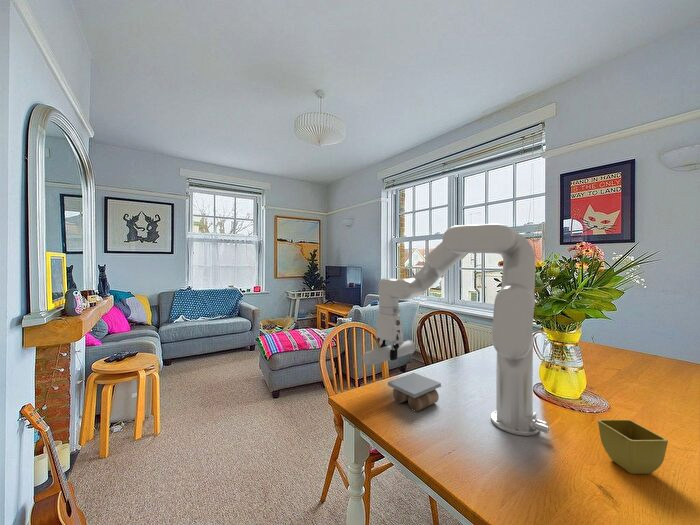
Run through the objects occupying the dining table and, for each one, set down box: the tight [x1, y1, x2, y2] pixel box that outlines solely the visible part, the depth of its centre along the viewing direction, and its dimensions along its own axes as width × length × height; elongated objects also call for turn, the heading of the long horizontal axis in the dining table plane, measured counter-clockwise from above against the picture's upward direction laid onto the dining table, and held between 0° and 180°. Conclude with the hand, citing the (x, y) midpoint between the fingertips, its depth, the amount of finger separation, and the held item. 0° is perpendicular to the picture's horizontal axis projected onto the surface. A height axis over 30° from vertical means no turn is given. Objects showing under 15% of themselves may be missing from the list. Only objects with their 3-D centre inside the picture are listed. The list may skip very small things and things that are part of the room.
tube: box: [361, 339, 416, 367], centre depth 111 cm, size 5×5×25 cm
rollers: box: [392, 388, 440, 412], centre depth 100 cm, size 12×10×5 cm
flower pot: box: [597, 419, 669, 475], centre depth 68 cm, size 9×9×9 cm
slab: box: [387, 372, 442, 398], centre depth 100 cm, size 12×14×1 cm
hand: (388, 357), depth 110 cm, fingers closed on tube, 4 cm apart
